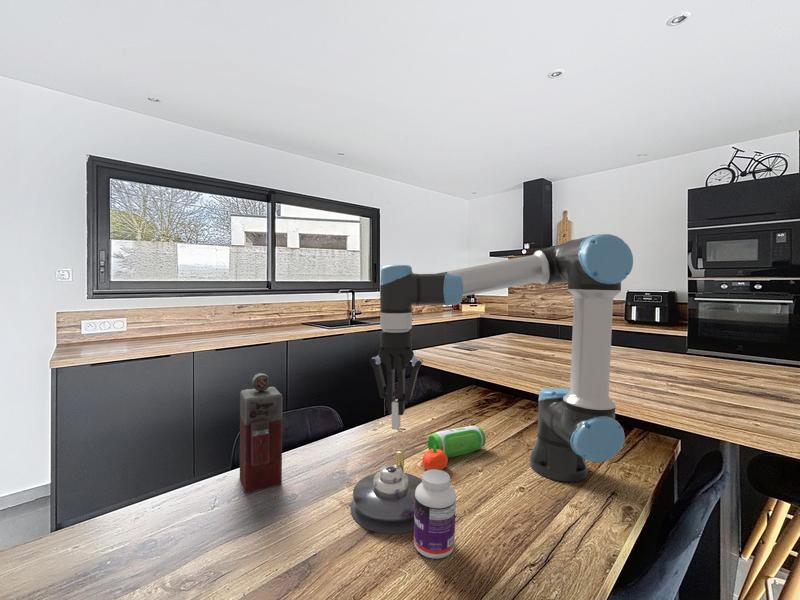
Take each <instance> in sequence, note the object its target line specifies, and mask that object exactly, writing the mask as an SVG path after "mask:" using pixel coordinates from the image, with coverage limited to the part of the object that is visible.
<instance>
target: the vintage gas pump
mask: <svg viewBox="0 0 800 600" xmlns="http://www.w3.org/2000/svg"><path fill="white" fill-rule="evenodd" d="M251 385H252V387H253V388H247V389H242V390H241V391H240V393H239V480H240V483H241V486H242V489H243V493H244V494H248V493H253V492H256V491H260V490H264V489H269V488H273V487H278V486H281V485H282V484H283V481H282V479H283V477H282V476H283V469H282V468H283V400H284V399H283V395H282V393H280V391H278V389H277V388H276V387H275V386H270V385H271V379H270V377H269V376H268V375H267V374H266V373H264V372H263V373H261V372H259V373H257V374H254V376H253V377H252V378H251Z"/></svg>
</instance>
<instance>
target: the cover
mask: <svg viewBox="0 0 800 600" xmlns="http://www.w3.org/2000/svg"><path fill="white" fill-rule="evenodd" d="M376 473H377V474H376V475H375V476H374V490H373V491H374V494H375V496H377V497H378V498H380V499H383V500H388V501H394V500H399V499H402V498H404V497H405V496H406V495H407V493H408V476H407V475H406V474H405V473H406V472H404V473H403V472H402V468H401V467H400V466H398V465H396V464H394V463H393V464H392V463H391V464H385V465H382V466H381V467H380V468H379V471H378V472H376Z"/></svg>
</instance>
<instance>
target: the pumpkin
mask: <svg viewBox="0 0 800 600" xmlns="http://www.w3.org/2000/svg"><path fill="white" fill-rule="evenodd" d="M421 460H422V461H421V466H423V469H425V470H426V471H427V470H432V469H436V470H442V471H443V470H444V468H446V467H447V466H448V462H449V457H447V456H446V454H445V453H444V451H442V450H439V449H436V447H435V446H434V447H433V449H431V450H429V449H428V450H426V452H425V453H424V454H423V456H422V459H421Z"/></svg>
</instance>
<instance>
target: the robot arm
mask: <svg viewBox="0 0 800 600" xmlns="http://www.w3.org/2000/svg"><path fill="white" fill-rule="evenodd" d="M633 266H634V256H633V252H632V250H631V248H630V246H629V245H628V244H627V243H626V242H625V241H624V240H623V239H622V238H620V237H618V236H617V235H614V234H612V233H611V234H610V233H609V234H608V233H601V234H600V233H599V234H591V235H589V236H585V237H581V238H576V239H571V240H568V241H565V242H562V243H560V244H558V245H557V244H556V245H554V246H551V247H548V248H544V249H539V250H538V249H537V250H535V252H534V253H533V254H532V255H527V256H523V257H522V256H521V257H516V258H511V259H506V260H501V261H500V260H499V261H494V262H490V263H485V264H480V265H474V266H468V267H463V268H459V269H458V268H457V269H453V270H447V271H443V272H437V273H413V269H412V266H411V265H407V264H405V265H404V264H402V265H401V264H389V265H383V266H382V268H380V269H381V270H380V281H379V282H380V283H379V298H380V299H379V301H380V302H379V303H380V304H379V305H380V306H379V307H380V308H379V309H380V316H379V317H380V320H379V323H380V324H379V326H380V327H379V328H380V329H381V331H380V332H379V333H380V336H379V337H380V342H379V343H380V344H379V345H380V346H379V347H380V349H379V351H378V355H376V356H373V357H372V358H369V360H368V361H369V363H370V365H371V367H372V369H373V372H374V376H375V381H376V386H377V388H378V393H379V397H380V398H381V399H385V400H386V401H387V413H388V415H391V430H399V429H400V427H401V416H403V415H404V414H405V408H406V407H405V402H406V401H410V400H411V398H412V396H413V394H414V390H415V387H416V381H417V377H418V374H419V369H420V367H421V366H422V364H423V363H424V360H423V359H421V358H420V359H419V358H418V357H417V356H415V352H414V351H413V347H412V346H413V345H412V344H413V343H412V341H413V338H412V337H413V336H412V335H413V332H412V331H411V329H412V328H413V326H412V325H413V320H412V319H413V314H412V313H413V309H412V308H413V306H447V307H448V306H456V305H459V304H461V302H462V300H463V297H466V296H473V295H477V294H481V293H487V292H493V291H497V290H502V289H509V288H515V287H519V286H523V285H524V286H525V285H528V284H529V285H530V284H535V283H539V284H540V285H548V284H558V283H559V284H567V292H568V293H569V294H570V295H571V296H572V297H573V313H572V334H571V335H572V336H571V359H570V362H571V363H570V383H569V384H570V385H569V388H568V387H567V388H565V387H545V388H542V389H541V390H540V391H539V394H538V400H537V401H538V404H537V405H538V406H537V407H538V409H537V411H538V412H537V438H536V441H535V443H534V445H533V448H532V451H531V453H530V457H529V465H530V468H531V469H532V470H533V471H534V472H536V473H537V474H539V475H540V476H543V477H545V478H548V479H550V480H553V481H554V480H555V481H558V482H564V483H575V482H581V481H583V480H585V479H587V477H588V463H587V461H588V462H591V463H601V462H607V461H609V460H611V459H613V457H614V456H615V455H618V454H619V453H620V451H621V450H622V449H623V446H624V443H625V440H626V439H625V437H626V436H625V432H624V428H623V426H622V425H621V424H620V423H619V421H618V420H616V403H615V402H614V401H613V400H612V399H611V398H610V397H609V396H610V395H609V393H610V377H611V375H610V372H611V353H612V352H611V350H612V331H613V330H612V329H613V328H612V327H613V312H614V311H613V309H614V308H613V306H614V298H615V297H617V295H619V294H620V293H621V292H622V291H621V290H622V282H623V281H624V280H626V279H627V276H629V275H630V274H631V272H632V270H633ZM410 362H411V366H412V368H411V371H410V375H409V380H408V384H407V388H406V367H407V366H408V365H409V363H410ZM381 363H383V364H384V366H385V368H386V375H387V376H386V378H387V379H386V381H387V382H386V381H385V377H384V373H383V372H384V371H383V368H382V365H381ZM395 373H397V398H396V395H395V394H396V393H395V386H396V385H395V381H396V380H395V378H396V377H395V376H396V374H395ZM386 383H387V384H386Z"/></svg>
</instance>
